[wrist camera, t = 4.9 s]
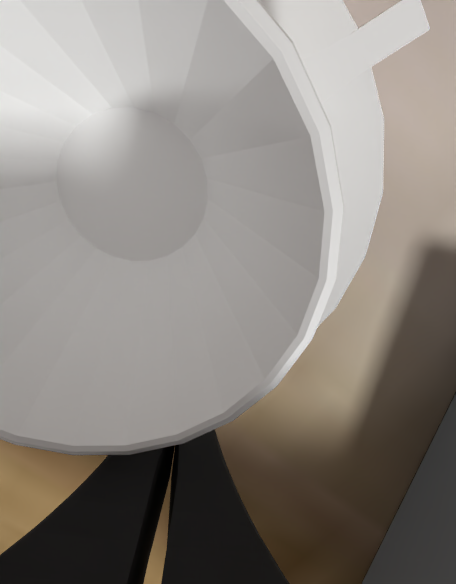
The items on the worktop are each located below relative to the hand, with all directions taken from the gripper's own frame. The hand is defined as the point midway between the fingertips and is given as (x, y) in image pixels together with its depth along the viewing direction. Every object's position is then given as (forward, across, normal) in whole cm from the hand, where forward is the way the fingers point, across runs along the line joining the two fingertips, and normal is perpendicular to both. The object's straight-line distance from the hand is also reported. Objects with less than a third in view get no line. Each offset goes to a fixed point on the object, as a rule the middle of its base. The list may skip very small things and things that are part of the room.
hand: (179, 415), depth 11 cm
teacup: (+2, +2, -6) cm, 7 cm away
